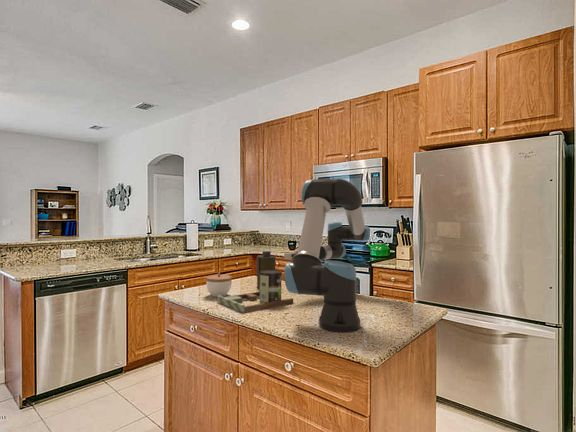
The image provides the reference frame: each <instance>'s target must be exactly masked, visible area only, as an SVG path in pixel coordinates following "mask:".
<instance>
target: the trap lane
mask: <svg viewBox="0 0 576 432" xmlns="http://www.w3.org/2000/svg"><path fill="white" fill-rule="evenodd" d="M257 300H260V291H256V292H255V291H254V292H248V293H240V294H236V295H235V294H234V295H226V296H223V297H222V296H218V297H217V303H218V304H220V305H223V306H226V307H227V308H231V309H233V310H234V311H237V312H239V313H243V314H244V313H248V312H253V311H254V312H255V311H260V310H264V309H269V308H275V307H281V306H285V305H291V304H294V298H291V297H290V298H285V299H281V300H278V301H273V302H267V303H257V304H252V305H246V306H245V304H242V303H243V302H248V301H251V302H252V301H257Z"/></svg>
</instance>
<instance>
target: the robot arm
mask: <svg viewBox="0 0 576 432" xmlns="http://www.w3.org/2000/svg"><path fill="white" fill-rule="evenodd" d="M300 198H301V203H302V205H304V208H305V209H306V210H305V215H304V220H303V224H302V229H301V235H300V240H299V244H298V247H297V248H298V249H297V250H296V251H292V252H285V253H284V255H283V256H284V258H283V259H284V260H289V259H291V261H288V262H286V263H285V265H284V274H283V275H284V276H283V277H284V284H285V288H286V290H287V291H288V292H289V293H291V294H296V295H297V294H298V295H300V296H301V295H307V296H318V297H320V296H321V297H323V306H322V307H321V313H320V316H319V318H318V327H321V329H323V330H327V331H329V332H339V333H340V332H341V333H345V332H348V333H349V332H355V331H358V330H359V329H360V328H361V318H360V317H359V312H358V309H357V297H356V296H357V293H356V292H357V269H356V267H355V266H354V265H353V264H351V263H349V262H345V261H340V260H338V259H342V258H343V257H345V256H346V254H347V249H346V246H345V245H344V244H343V242H342V241H352V242H353V241H354V242H355V241H356V242H359V241H360V242H364V241H366V242H369V241H370V239H371V238H370V237H371V228H370V227H369V226H366V225H365V220H364V215H363V210H362V204H363V198H362V194H361V192H360V191H359V189H358V188H357V186H355V185H354V184H353V183H352V182H350V181H348V180H346V179H342V178H322V179H321V178H313V179H308V180H306V181H305V182H304V183H303V186H302V189H301V197H300ZM331 206H341V207H342V208H343V209H344V211H345V214H346V220H347V222H348V225H343V223H342V222H341V221H340V222H339V221H337V222H335V221H334V222H333V221H331V222H329V223H328V224H327V244H325V245H324V244H323V245H322V241H323V234H324V228H325V222H326V217H327V213H328V212H330V210H331ZM335 259H337V260H335ZM322 261H324V262H323V263H322Z"/></svg>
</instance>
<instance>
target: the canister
mask: <svg viewBox="0 0 576 432" xmlns="http://www.w3.org/2000/svg"><path fill="white" fill-rule="evenodd" d="M271 254H272V251H269V250H266V251H262V252H261V255H257V256H256V289H258V290H260V271H263V270H276V256H275V255H271Z"/></svg>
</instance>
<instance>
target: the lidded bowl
mask: <svg viewBox="0 0 576 432" xmlns="http://www.w3.org/2000/svg"><path fill="white" fill-rule="evenodd" d="M232 279H233V278H232V275H227V274H221V272H217V274H214V275H213V274H212V275H208V276H206V278H205V280H206V282H205V283H206V289H207V292H208V293H209V294H210V295H211V297H214V298H218V296H222V297H227V294H228V293H229V292H230V291H231V289H232Z"/></svg>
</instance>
